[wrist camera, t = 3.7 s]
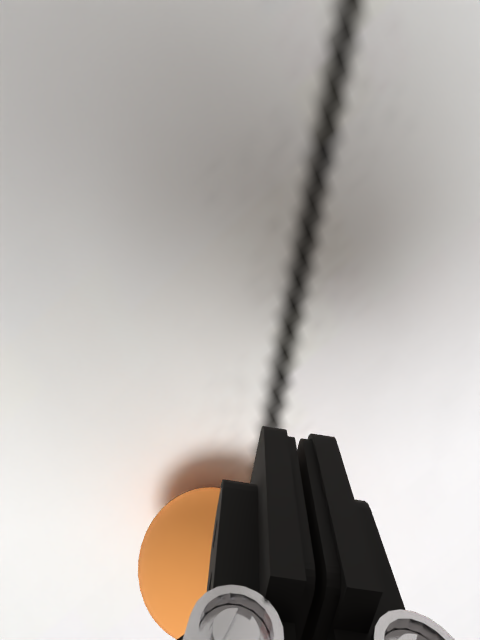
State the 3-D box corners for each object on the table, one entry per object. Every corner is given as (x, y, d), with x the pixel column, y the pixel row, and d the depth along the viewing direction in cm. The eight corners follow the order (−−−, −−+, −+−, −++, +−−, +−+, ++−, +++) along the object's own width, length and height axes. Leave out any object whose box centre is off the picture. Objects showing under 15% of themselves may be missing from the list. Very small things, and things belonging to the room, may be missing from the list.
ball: (158, 452, 21) (129, 557, 15) (283, 468, 21) (299, 577, 16) (146, 549, 23) (116, 675, 17) (261, 563, 23) (269, 691, 18)
